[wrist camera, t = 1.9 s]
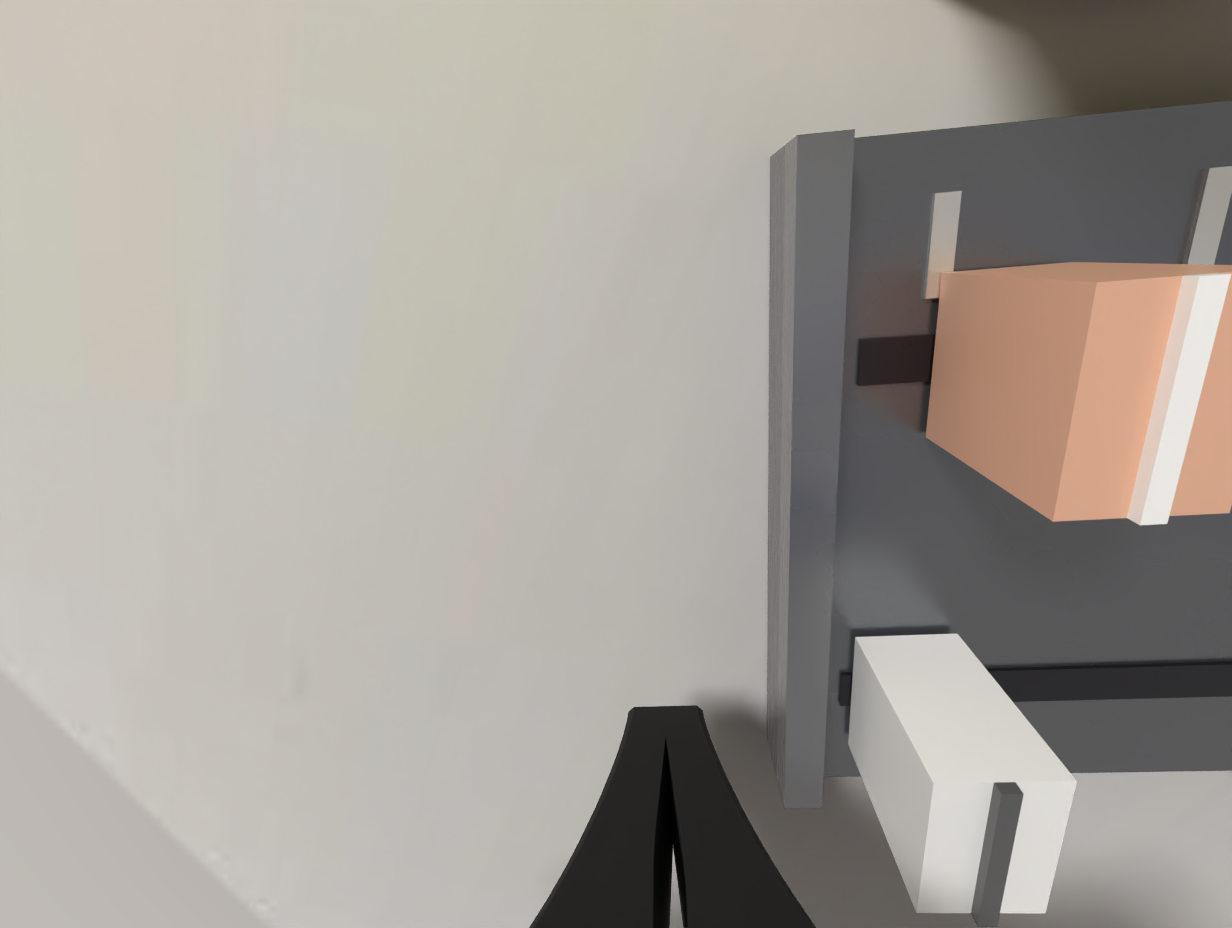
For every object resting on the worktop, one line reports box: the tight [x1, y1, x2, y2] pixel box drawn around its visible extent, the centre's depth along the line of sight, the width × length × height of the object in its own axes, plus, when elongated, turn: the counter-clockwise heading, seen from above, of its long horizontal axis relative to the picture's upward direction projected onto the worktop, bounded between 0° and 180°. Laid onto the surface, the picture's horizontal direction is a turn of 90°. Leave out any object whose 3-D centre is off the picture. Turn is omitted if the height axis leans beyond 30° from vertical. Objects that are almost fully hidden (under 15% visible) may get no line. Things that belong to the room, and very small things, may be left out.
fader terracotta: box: [926, 262, 1232, 525], centre depth 8 cm, size 2×3×4 cm
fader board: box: [767, 100, 1232, 809], centre depth 11 cm, size 13×13×2 cm
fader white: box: [848, 634, 1077, 927], centre depth 11 cm, size 2×3×4 cm
